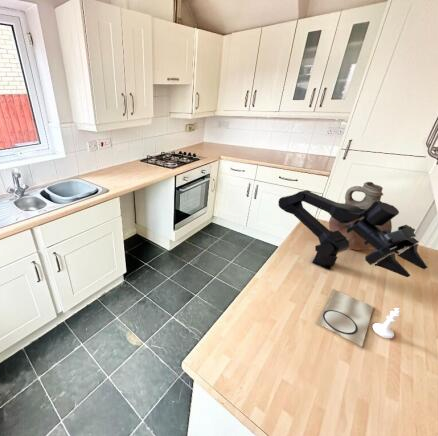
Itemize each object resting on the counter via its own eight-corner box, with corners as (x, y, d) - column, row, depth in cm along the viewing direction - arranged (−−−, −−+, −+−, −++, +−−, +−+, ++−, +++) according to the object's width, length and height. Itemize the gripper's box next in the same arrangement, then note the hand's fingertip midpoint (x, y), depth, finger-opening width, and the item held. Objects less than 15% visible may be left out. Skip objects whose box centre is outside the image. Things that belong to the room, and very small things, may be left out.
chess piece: (388, 326, 76) (404, 304, 71) (396, 340, 72) (414, 317, 67) (369, 322, 77) (383, 300, 72) (376, 335, 73) (392, 313, 68)
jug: (374, 266, 101) (411, 200, 86) (316, 244, 115) (339, 185, 100) (383, 245, 113) (416, 185, 99) (329, 228, 127) (351, 173, 113)
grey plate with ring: (318, 323, 77) (319, 322, 77) (334, 290, 89) (335, 289, 89) (361, 347, 70) (362, 345, 70) (372, 308, 82) (373, 306, 82)
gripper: (373, 224, 75) (425, 266, 66) (408, 213, 81) (461, 250, 72) (347, 245, 83) (390, 285, 74) (381, 233, 89) (424, 269, 80)
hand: (417, 272), depth 75 cm, fingers open, 9 cm apart
